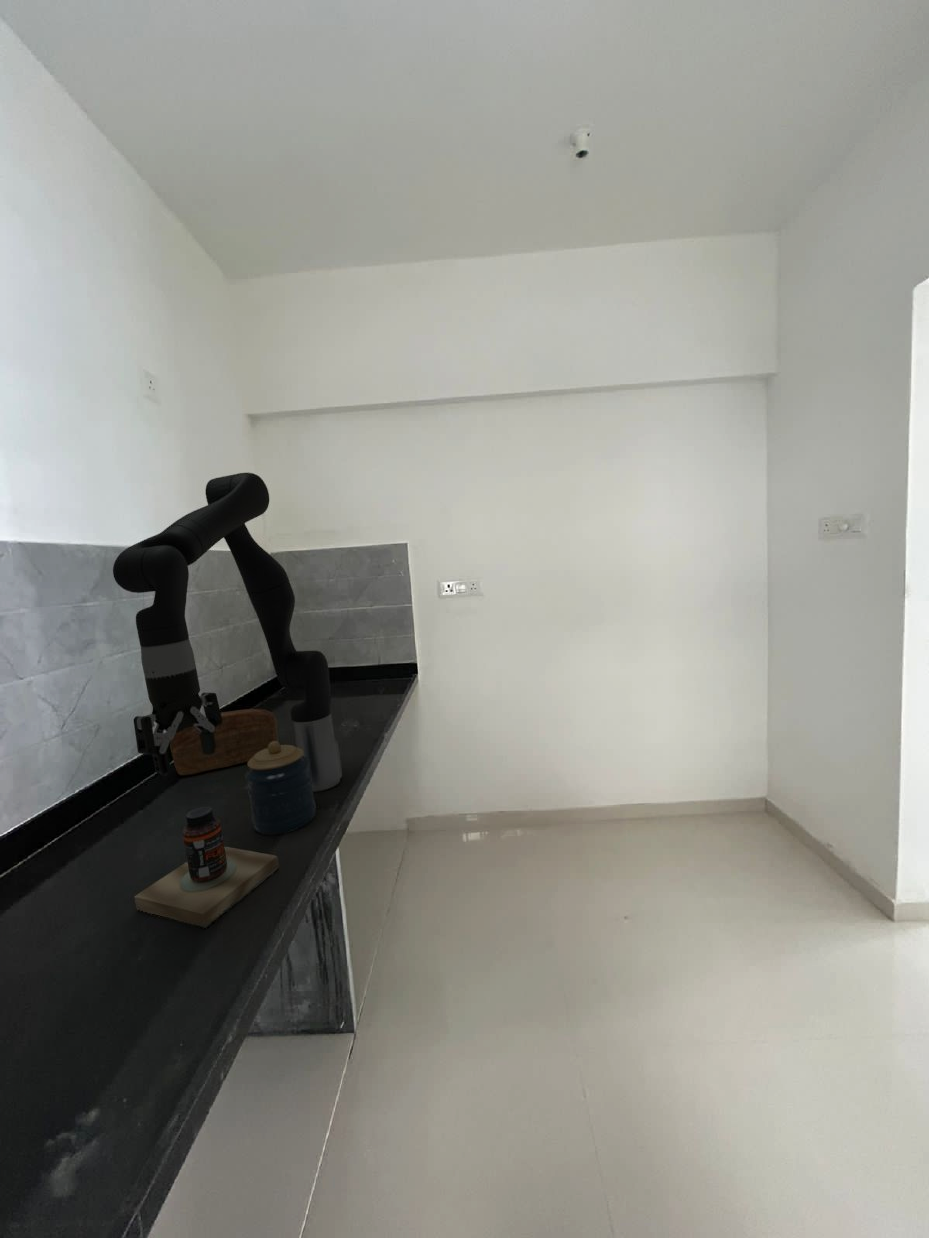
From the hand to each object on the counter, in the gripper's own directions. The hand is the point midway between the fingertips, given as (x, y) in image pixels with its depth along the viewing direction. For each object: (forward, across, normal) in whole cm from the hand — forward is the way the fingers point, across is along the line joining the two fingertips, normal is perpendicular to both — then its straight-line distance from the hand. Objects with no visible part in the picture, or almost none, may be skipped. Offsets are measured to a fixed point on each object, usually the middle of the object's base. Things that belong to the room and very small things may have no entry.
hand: (188, 763), depth 91 cm
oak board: (+23, 0, 0) cm, 23 cm away
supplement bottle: (+20, 0, 0) cm, 20 cm away
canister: (+23, +23, +4) cm, 33 cm away
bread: (+24, +47, +46) cm, 70 cm away
